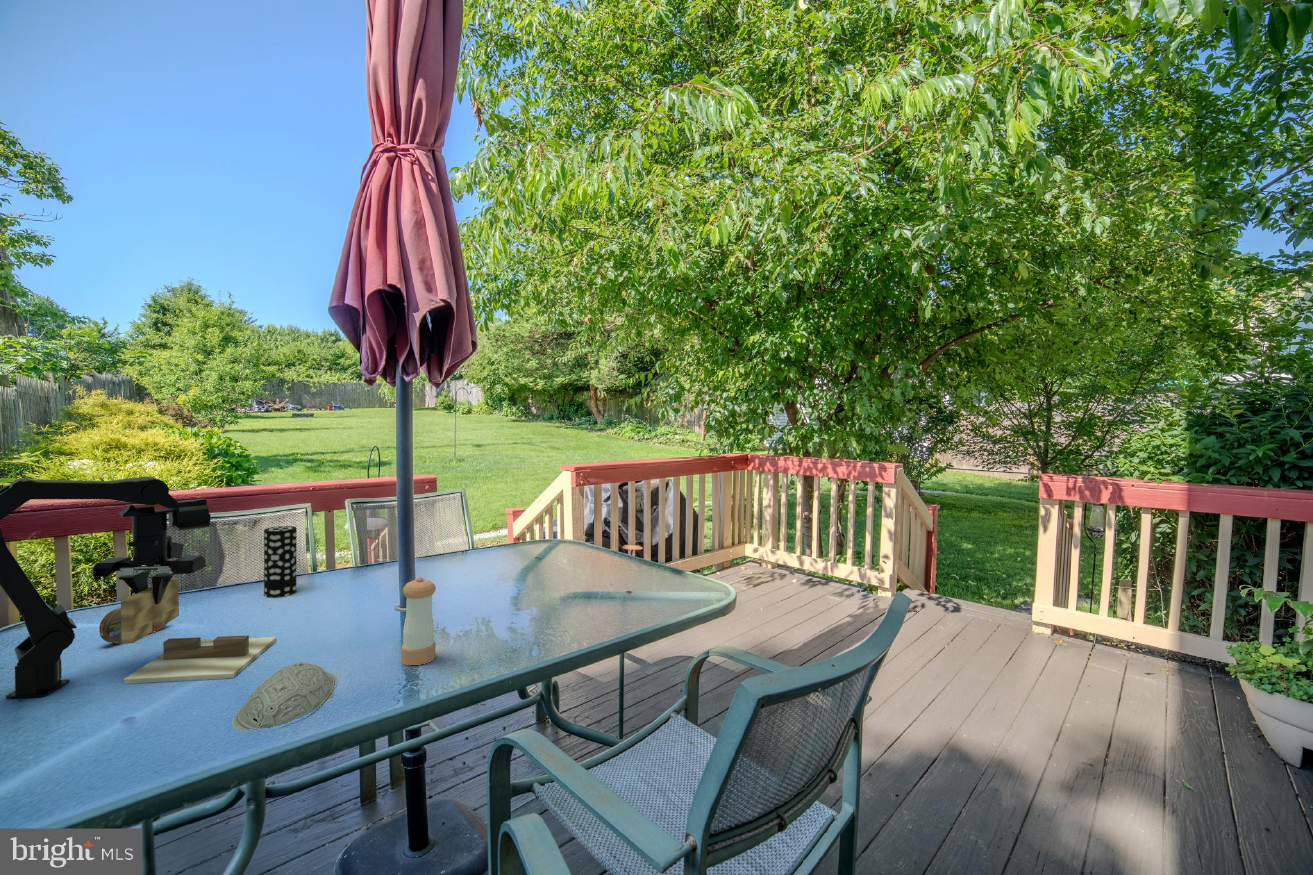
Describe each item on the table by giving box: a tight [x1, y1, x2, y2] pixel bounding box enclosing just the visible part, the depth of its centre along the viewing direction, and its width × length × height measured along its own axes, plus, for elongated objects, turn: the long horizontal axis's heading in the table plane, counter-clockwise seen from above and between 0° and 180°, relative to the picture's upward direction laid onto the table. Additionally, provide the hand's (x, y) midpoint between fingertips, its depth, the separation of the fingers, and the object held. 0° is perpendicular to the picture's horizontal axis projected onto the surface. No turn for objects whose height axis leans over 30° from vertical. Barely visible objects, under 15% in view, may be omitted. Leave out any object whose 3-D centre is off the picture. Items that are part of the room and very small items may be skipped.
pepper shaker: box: [400, 576, 437, 666], centre depth 133 cm, size 7×7×19 cm
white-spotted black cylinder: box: [263, 525, 298, 599], centre depth 177 cm, size 8×8×20 cm
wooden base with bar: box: [123, 635, 277, 685], centre depth 130 cm, size 20×20×5 cm
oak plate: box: [120, 577, 180, 645], centre depth 128 cm, size 16×2×9 cm, turn 12°
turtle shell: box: [231, 661, 339, 732], centre depth 114 cm, size 16×25×7 cm, turn 12°
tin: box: [98, 606, 168, 645], centre depth 142 cm, size 15×3×8 cm, turn 168°
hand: (151, 604), depth 127 cm, fingers closed on oak plate, 2 cm apart
